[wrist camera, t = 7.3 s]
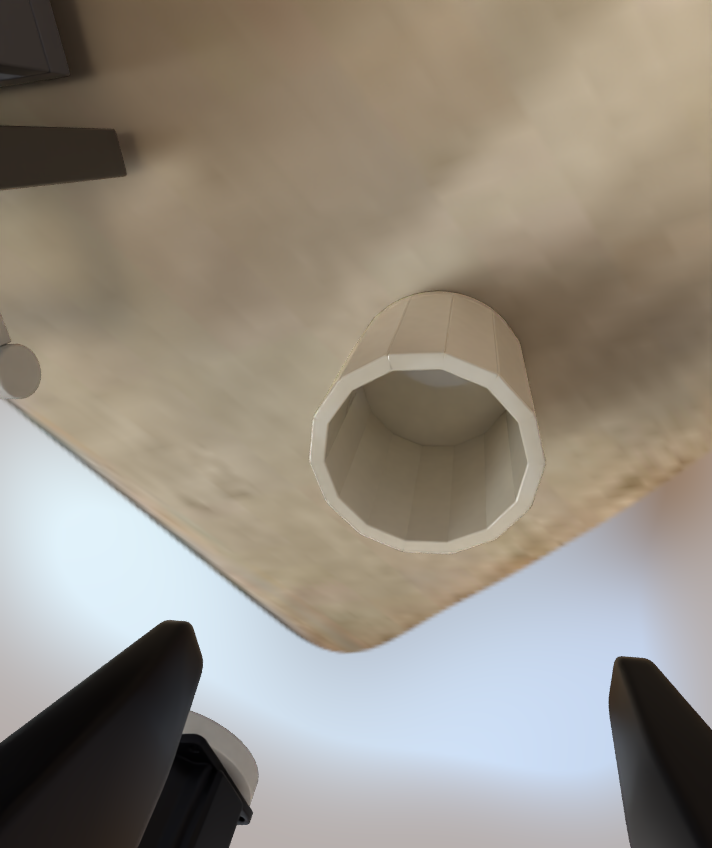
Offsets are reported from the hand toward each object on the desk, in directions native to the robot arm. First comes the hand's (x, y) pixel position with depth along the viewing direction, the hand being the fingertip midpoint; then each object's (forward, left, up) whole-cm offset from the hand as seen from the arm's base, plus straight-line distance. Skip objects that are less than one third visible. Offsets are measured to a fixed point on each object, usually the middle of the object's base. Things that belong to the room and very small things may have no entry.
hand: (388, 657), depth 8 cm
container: (0, 0, -11) cm, 11 cm away
